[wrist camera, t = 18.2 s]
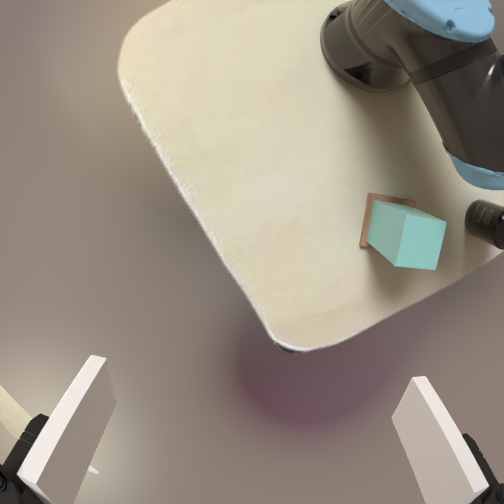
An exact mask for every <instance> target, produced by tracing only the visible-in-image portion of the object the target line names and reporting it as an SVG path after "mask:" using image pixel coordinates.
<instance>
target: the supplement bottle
mask: <svg viewBox="0 0 504 504" xmlns="http://www.w3.org/2000/svg"><path fill="white" fill-rule="evenodd" d="M466 226H467V229H468V231H469V232H470V234H472V235H473V236H475V237H477V238H479V239H481V240H483V241H485V242H487V243H489V244H491V245H493V246H495V247H497V248H499V249H502V250H504V207H503V206H500V205H497V204H494V203H491V202H488V201H485V200H476V201H474V202H473V203H472V204H471V205H470V207H469V209H468V211H467V214H466Z"/></svg>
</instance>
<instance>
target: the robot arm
mask: <svg viewBox="0 0 504 504" xmlns="http://www.w3.org/2000/svg"><path fill="white" fill-rule="evenodd" d="M491 13H492V7H491V4H490V2H489V0H352V1H349V2H346V3H344V4H341V5H339V6H338V7H336V8H335V9H334V10H332V11H331V12H330V14H329V15H328V16H327V18H326V20H325V21H324V23H323V26H322V28H321V34H320V42H321V47H322V51H323V53H324V56H325V58H326V60H327V61H328V63H329V64H330V66H331V67H332V68H333V70H334V71H335V72H336V73H337V74H338V75H339V76H340V77H342V78H343V79H344V80H345V81H347V82H349V83H350V84H352V85H354V86H356V87H358V88H361V89H364V90H367V91H373V92H384V91H389V90H392V89H395V88H397V87H399V86H401V85H403V84H405V83H406V82H407V81H408V80H409V79H411V81H412V82H413V85H414V86H415V88H416V90H417V91H418V93H419V95H420V97H421V99H422V100H423V102H424V104H425V106H426V108H427V110H428V112H429V114H430V116H431V118H432V119H433V121H434V123H435V126H436V128H437V130H438V132H439V134H440V136H441V138H442V140H443V142H442V144H443V146H444V149H445V151H446V152H447V153H448V154H449V156H450V158H451V160H452V162H453V164H454V166H455V169H456V170H457V172H458V174H459V175H460V176H461V177H462V178H463V179H464V180H465V181H467V182H468V183H470V184H472V185H474V186H476V187H479V188H483V189H489V190H504V55H500V53H499V52H498V50H497V48H496V46H495V45H494V43H493V41H492V39H491V37H490V35H491V33H492V31H493V30H494V26H495V18H494V16H493V15H492V14H491ZM116 404H117V401H116V397H115V393H114V389H113V385H112V381H111V376H110V372H109V367H108V363H107V358H102V357H98V356H94V355H91V356H90V357H89V358H88V360H87V361H86V363H85V364H84V366H83V367H82V369H81V370H80V372H79V373H78V375H77V376H76V377H75V379H74V380H73V382H72V383H71V385H70V387H69V388H68V390H67V391H66V393H65V394H64V396H63V397H62V399H61V401H60V402H59V403H58V405H57V407H56V408H55V410H54V411H53V413H52V415H51V416H50V417H48V416H45V415H43V414H39V415H38V416H36V417H35V418H33V419H32V420H31V421H30V422H29V424H28V425H27V427H26V428H25V431H24V432H23V433H22V435H21V436H20V439H18V441H17V443H16V444H15V446H14V447H13V449H12V451H11V452H10V454H9V456H8V457H7V459H6V461H5V462H4V464H3V465H1V464H0V504H74V501H75V499H76V496H77V494H78V491H79V489H80V486H81V484H82V481H83V479H84V476H85V474H86V472H87V469H88V467H89V465H90V462H91V460H92V458H93V455H94V453H95V451H96V448H97V446H98V444H99V441H100V439H101V437H102V435H103V433H104V430H105V428H106V426H107V424H108V421H109V419H110V417H111V415H112V413H113V411H114V408H115V406H116ZM391 419H392V421H393V423H394V426H395V428H396V430H397V433H398V435H399V437H400V440H401V442H402V445H403V447H404V449H405V452H406V454H407V456H408V459H409V462H410V464H411V467H412V469H413V471H414V474H415V477H416V479H417V482H418V484H419V487H420V489H421V492H422V494H423V497H424V500H425V503H426V504H504V484H502V483H501V484H499V483H498V481H497V480H496V478H495V476H494V474H493V473H492V471H491V469H490V467H489V465H488V463H487V462H486V460H485V458H483V454H482V453H481V451H479V447H478V446H477V444H476V442H475V441H474V440H473V439H472V438H471V437H470V436H469V435H468V434H463V435H461V434H460V432H459V430H458V428H457V427H456V425H455V423H454V421H453V420H452V418H451V417H450V415H449V413H448V412H447V410H446V409H445V406H444V405H443V403H442V402H441V400H440V399H439V397H438V395H437V394H436V392H435V390H434V389H433V387H432V386H431V384H430V383H429V381H428V380H427V378H426V377H425V376H421V377H412V379H411V381H410V383H409V385H408V387H407V389H406V391H405V393H404V395H403V397H402V399H401V401H400V403H399V405H398V407H397V409H396V411H395V412H394V415H393V416H392V418H391Z"/></svg>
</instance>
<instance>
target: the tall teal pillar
mask: <svg viewBox="0 0 504 504" xmlns="http://www.w3.org/2000/svg"><path fill="white" fill-rule="evenodd" d="M446 224H447V222H446V221H444V220H441V219H439V218H437V217H435V216H432V215H430V214H428V213H425V212H423V211H421V210H418V209H416V208H414V207H411V206H408V205H402V204H397V203H391V202H385V201H379V200H374V202H373V208H372V214H371V219H370V225H369V230H368V236H367V242H368V243H369V244H370V245H372V246H373V247H374V248H375V249H376V250H377V251H378V252H380V253H381V254H382V255H383V256H384V257H385V258H386V259H387V260H389V261H390V262H391V263H392V264H393V265H394V266H397V267H408V268H419V269H430V270H436V266H437V262H438V258H439V254H440V250H441V246H442V242H443V238H444V233H445V229H446Z"/></svg>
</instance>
